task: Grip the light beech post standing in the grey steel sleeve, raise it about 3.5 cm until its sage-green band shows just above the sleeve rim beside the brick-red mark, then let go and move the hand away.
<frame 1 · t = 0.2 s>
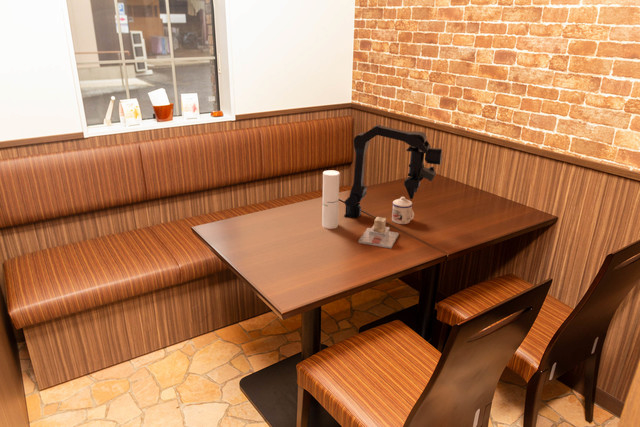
hand: (413, 195, 206), 14 cm above the table, tool pointing down, fingers open, 9 cm apart
post: (379, 227, 196), point 5 cm above the table, slide at 0.0 cm
sleeve stand: (378, 238, 198), on the table
cylindrical container: (330, 225, 210), on the table
teacup with lid: (403, 222, 215), on the table
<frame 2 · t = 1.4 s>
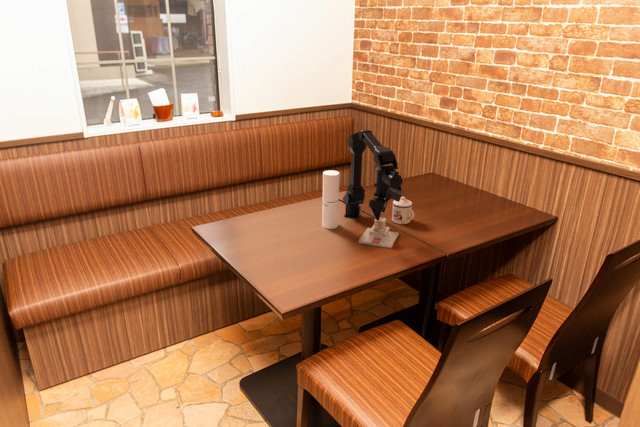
hand: (380, 216, 194), 10 cm above the table, tool pointing down, fingers open, 9 cm apart
nothing on the table moved.
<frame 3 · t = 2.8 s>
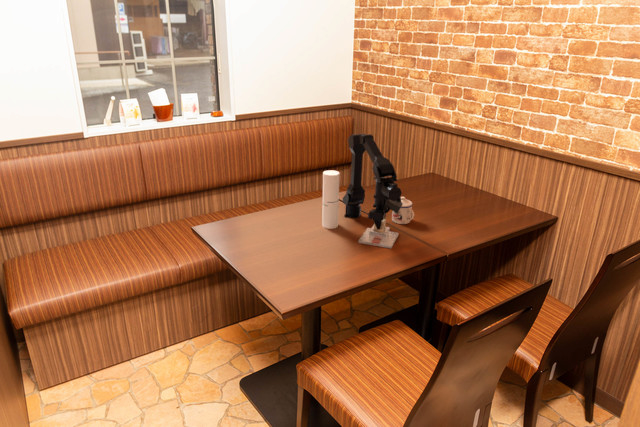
hand: (379, 227, 196), 6 cm above the table, tool pointing down, fingers closed on post, 4 cm apart
post: (379, 227, 196), point 5 cm above the table, slide at 0.0 cm, touching gripper
everything else where it was.
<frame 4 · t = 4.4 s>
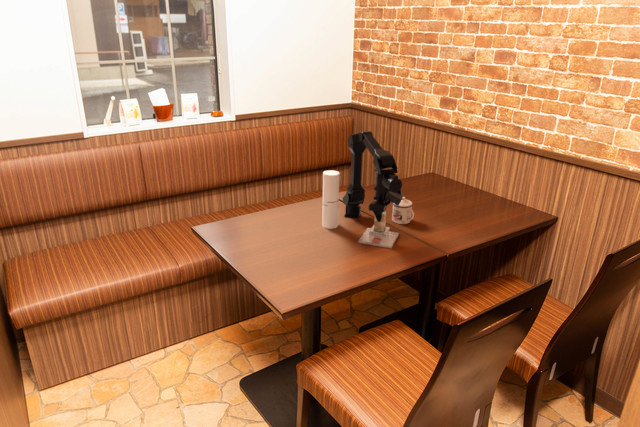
hand: (380, 219, 194), 9 cm above the table, tool pointing down, fingers closed on post, 4 cm apart
post: (380, 220, 195), point 8 cm above the table, slide at 3.4 cm, touching gripper
everything else where it was.
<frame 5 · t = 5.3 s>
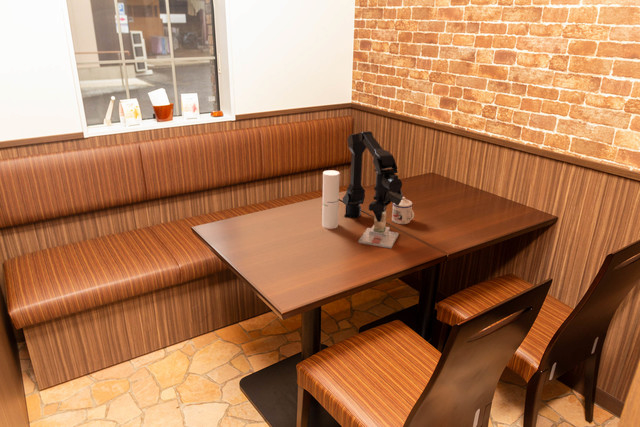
hand: (380, 219, 194), 9 cm above the table, tool pointing down, fingers open, 4 cm apart
post: (380, 220, 195), point 9 cm above the table, slide at 3.4 cm
everything else where it was.
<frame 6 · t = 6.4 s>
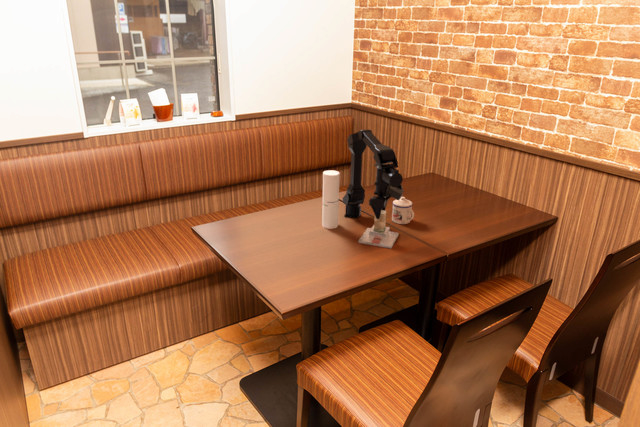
hand: (380, 214, 194), 11 cm above the table, tool pointing down, fingers open, 9 cm apart
nothing on the table moved.
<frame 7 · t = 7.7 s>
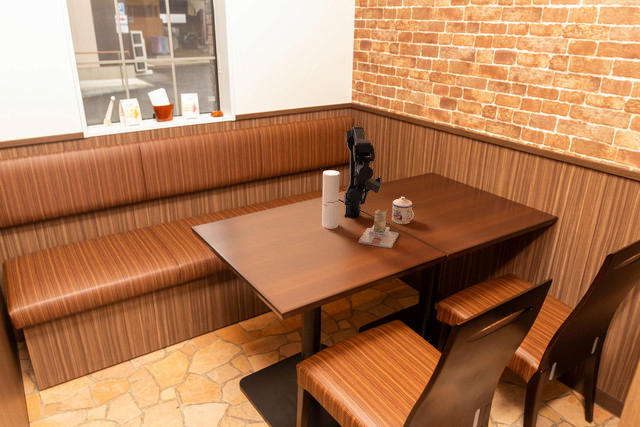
hand: (360, 207, 196), 13 cm above the table, tool pointing down, fingers open, 9 cm apart
nothing on the table moved.
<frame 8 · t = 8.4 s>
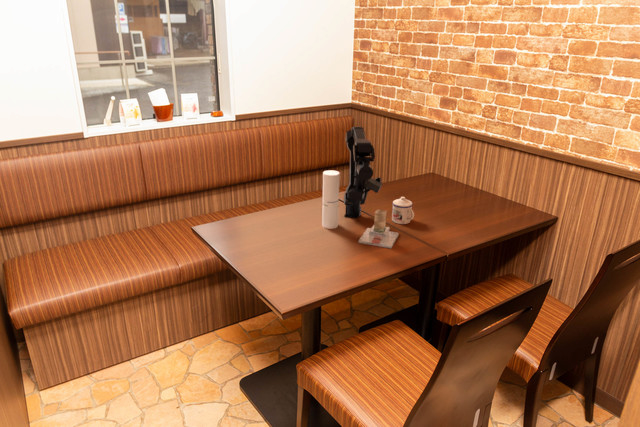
hand: (360, 207, 196), 13 cm above the table, tool pointing down, fingers open, 9 cm apart
nothing on the table moved.
at the end: post slide at 3.4 cm; the gripper is holding nothing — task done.
